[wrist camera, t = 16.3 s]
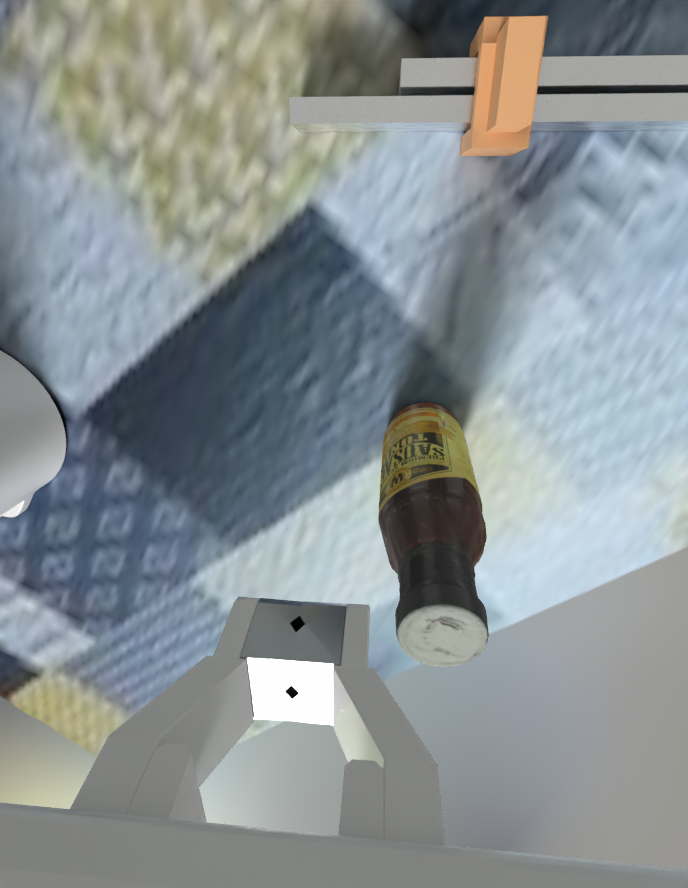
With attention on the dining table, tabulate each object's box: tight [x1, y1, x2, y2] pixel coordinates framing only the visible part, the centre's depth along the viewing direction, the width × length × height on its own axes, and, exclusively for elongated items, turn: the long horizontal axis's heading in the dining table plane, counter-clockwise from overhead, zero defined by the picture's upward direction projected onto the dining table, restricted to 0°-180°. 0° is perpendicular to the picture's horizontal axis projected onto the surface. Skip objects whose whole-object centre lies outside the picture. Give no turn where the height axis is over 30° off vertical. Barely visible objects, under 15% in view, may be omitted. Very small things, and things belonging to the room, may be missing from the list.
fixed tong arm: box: [289, 93, 688, 133], centre depth 27 cm, size 24×1×4 cm, turn 90°
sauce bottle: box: [378, 402, 489, 667], centre depth 29 cm, size 7×6×20 cm
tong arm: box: [399, 55, 688, 96], centre depth 26 cm, size 18×1×4 cm, turn 90°
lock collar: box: [459, 16, 548, 156], centre depth 25 cm, size 3×5×7 cm, turn 0°
